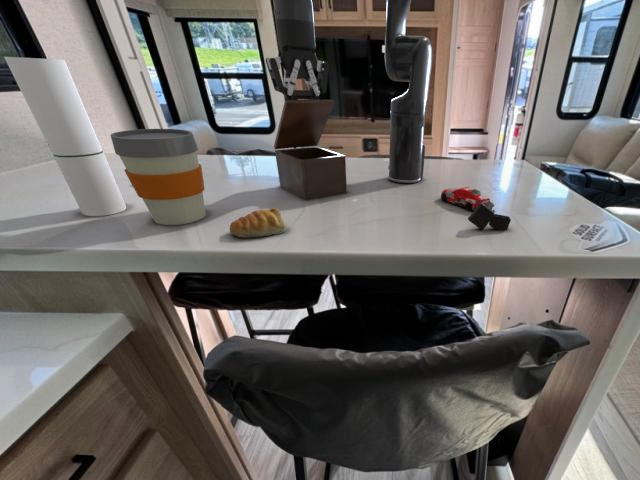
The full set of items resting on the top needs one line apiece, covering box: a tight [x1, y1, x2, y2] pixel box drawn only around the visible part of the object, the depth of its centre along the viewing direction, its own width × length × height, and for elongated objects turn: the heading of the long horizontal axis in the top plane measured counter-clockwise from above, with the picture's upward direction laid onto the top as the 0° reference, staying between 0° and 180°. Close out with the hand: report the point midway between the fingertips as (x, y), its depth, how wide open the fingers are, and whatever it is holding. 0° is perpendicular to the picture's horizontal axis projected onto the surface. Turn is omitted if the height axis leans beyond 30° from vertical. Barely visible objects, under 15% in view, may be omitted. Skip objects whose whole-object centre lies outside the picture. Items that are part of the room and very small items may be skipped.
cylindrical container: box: [3, 56, 127, 217], centre depth 61 cm, size 7×7×25 cm
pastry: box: [229, 207, 287, 239], centre depth 61 cm, size 9×7×4 cm
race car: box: [440, 186, 491, 212], centre depth 80 cm, size 13×5×4 cm, turn 39°
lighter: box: [467, 201, 512, 231], centre depth 68 cm, size 8×2×5 cm
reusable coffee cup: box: [110, 128, 207, 226], centre depth 62 cm, size 13×13×15 cm
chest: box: [274, 145, 348, 201], centre depth 83 cm, size 14×12×9 cm
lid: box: [273, 89, 335, 150], centre depth 79 cm, size 14×12×5 cm
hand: (303, 114), depth 77 cm, fingers closed on lid, 5 cm apart
